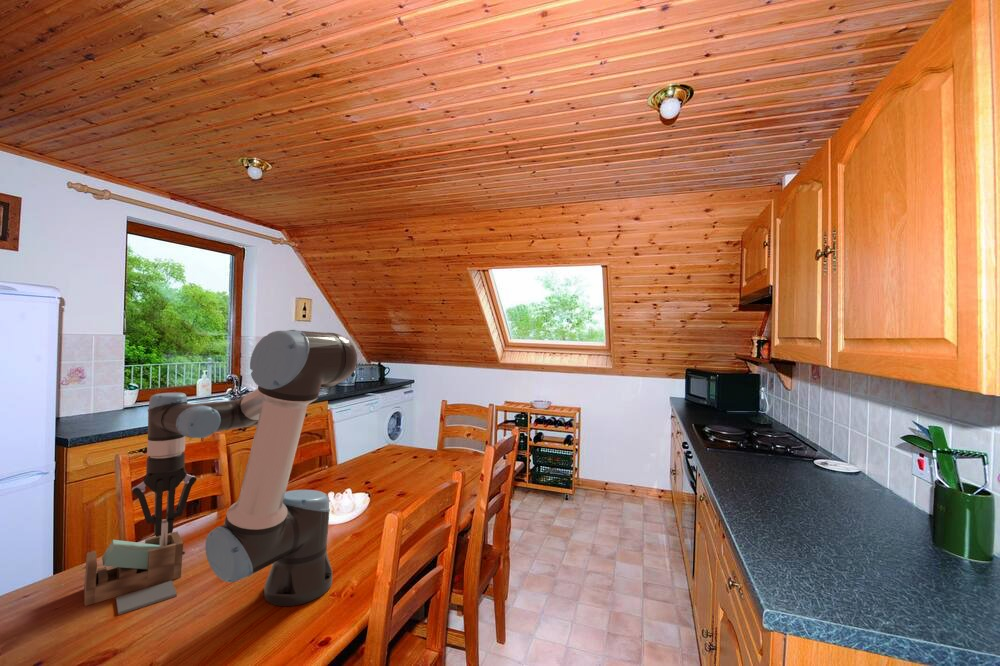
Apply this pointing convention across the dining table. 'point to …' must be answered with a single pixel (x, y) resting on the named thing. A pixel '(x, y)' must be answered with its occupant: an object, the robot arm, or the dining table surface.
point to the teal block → (127, 554)
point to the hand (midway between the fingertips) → (163, 546)
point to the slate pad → (145, 597)
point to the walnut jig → (133, 571)
